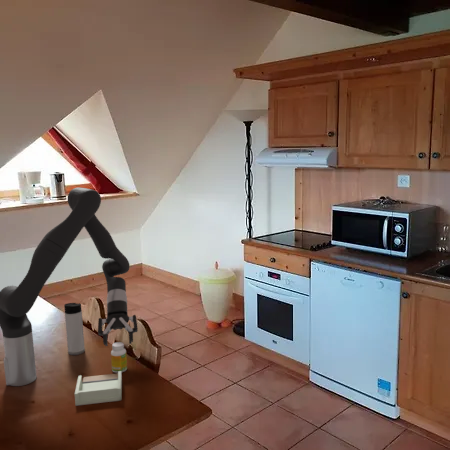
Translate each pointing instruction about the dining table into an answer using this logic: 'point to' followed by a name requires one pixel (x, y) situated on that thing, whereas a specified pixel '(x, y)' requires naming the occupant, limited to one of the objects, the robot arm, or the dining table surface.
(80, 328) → the travel mug
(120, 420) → the dining table surface
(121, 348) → the supplement bottle
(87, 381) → the tray
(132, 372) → the dining table surface
